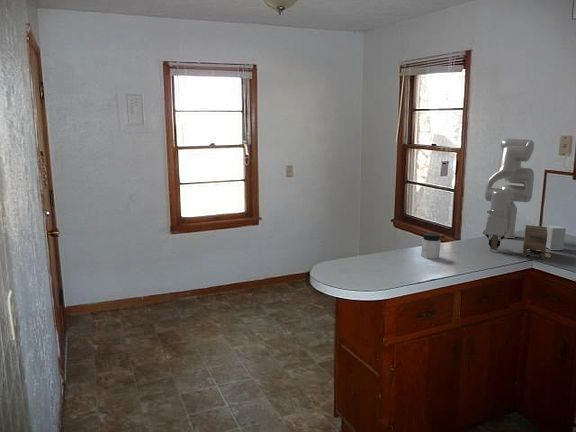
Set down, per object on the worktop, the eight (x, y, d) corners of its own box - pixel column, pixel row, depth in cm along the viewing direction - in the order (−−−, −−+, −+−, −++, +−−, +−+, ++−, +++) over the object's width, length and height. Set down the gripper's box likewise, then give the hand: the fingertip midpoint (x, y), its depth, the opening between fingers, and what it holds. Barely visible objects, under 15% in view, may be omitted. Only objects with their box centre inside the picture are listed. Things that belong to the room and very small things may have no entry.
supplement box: (563, 251, 267) (566, 228, 264) (549, 250, 267) (552, 228, 264) (556, 247, 274) (559, 225, 271) (543, 247, 274) (545, 225, 272)
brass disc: (539, 255, 258) (540, 252, 258) (550, 256, 256) (550, 253, 255) (540, 257, 253) (540, 254, 253) (550, 258, 251) (551, 256, 251)
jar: (418, 255, 254) (419, 232, 251) (431, 254, 256) (433, 231, 254) (428, 259, 245) (429, 236, 243) (442, 258, 248) (443, 235, 245)
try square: (490, 248, 269) (491, 231, 267) (539, 254, 258) (542, 236, 256) (489, 250, 264) (491, 232, 262) (539, 257, 254) (542, 238, 252)
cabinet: (523, 248, 270) (525, 225, 267) (543, 251, 265) (546, 227, 263) (522, 257, 253) (525, 231, 250) (544, 259, 249) (547, 234, 246)
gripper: (480, 213, 261) (477, 246, 265) (513, 216, 254) (510, 250, 258) (481, 211, 268) (478, 243, 272) (514, 214, 261) (510, 247, 265)
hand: (494, 246), depth 265 cm, fingers closed on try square, 3 cm apart
